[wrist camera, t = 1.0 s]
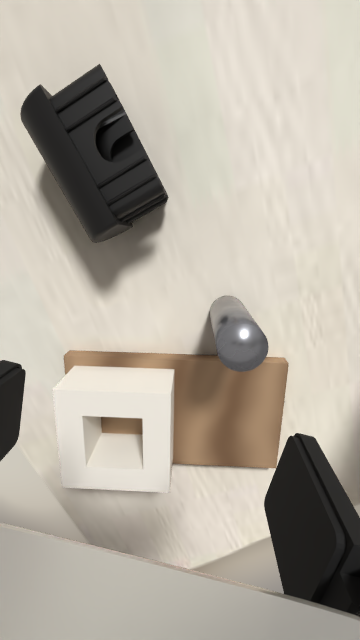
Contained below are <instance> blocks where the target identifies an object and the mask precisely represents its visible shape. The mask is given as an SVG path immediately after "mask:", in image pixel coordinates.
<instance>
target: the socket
mask: <svg viewBox="0 0 360 640" xmlns="http://www.w3.org/2000/svg"><path fill="white" fill-rule="evenodd" d="M52 391H53V402H54V412H55V422H56V432H57V442H58V453H59V463H60V473H61V483H62V487H63V488H83V489H103V490H123V491H143V492H163V493H170V484H171V473H172V462H173V433H174V369H155V368H126V367H98V366H74V367H73V368H72V369H71V370H70V371H69V372H68V373H67V374H66V375H65V376H64V377H63V379H62V380H61V381H60V382H59V383H58V384H57V385H56V386H55V387H54V388H53V389H52ZM101 417H120V418H142V422H143V435H137V434H114V433H102V428H101Z"/></svg>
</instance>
